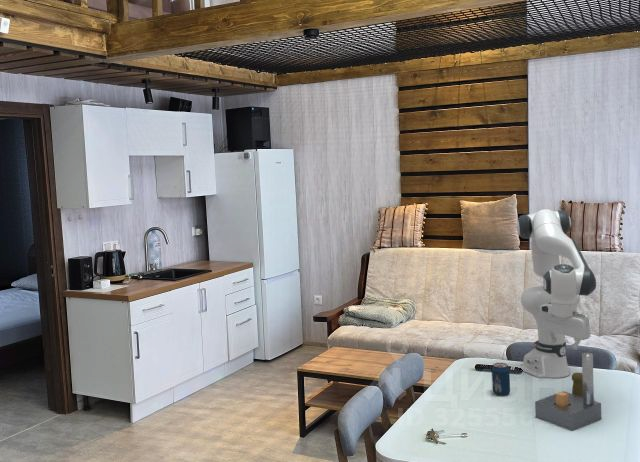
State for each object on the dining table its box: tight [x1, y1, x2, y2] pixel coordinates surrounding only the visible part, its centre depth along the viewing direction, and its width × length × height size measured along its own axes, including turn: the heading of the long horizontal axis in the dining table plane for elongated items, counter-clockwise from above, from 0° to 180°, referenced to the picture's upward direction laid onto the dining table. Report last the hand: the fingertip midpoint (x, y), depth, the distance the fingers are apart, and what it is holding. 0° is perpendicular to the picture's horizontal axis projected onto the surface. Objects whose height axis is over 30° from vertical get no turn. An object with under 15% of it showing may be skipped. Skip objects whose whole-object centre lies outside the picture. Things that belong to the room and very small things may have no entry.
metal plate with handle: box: [534, 352, 602, 432], centre depth 236 cm, size 16×16×24 cm
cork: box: [571, 372, 583, 397], centre depth 252 cm, size 6×6×11 cm
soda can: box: [491, 362, 511, 397], centre depth 265 cm, size 7×7×12 cm
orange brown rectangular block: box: [555, 391, 569, 408], centre depth 235 cm, size 3×3×10 cm
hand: (564, 345), depth 240 cm, fingers open, 8 cm apart
